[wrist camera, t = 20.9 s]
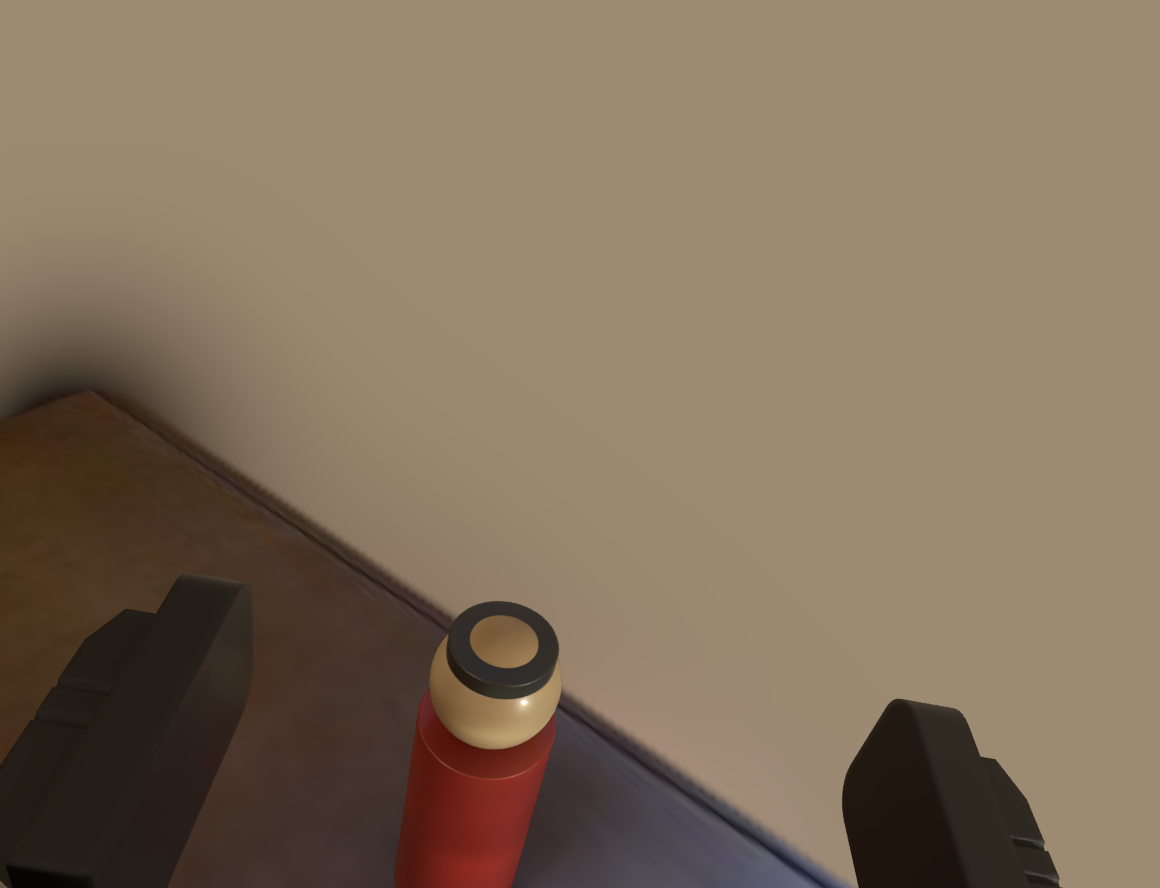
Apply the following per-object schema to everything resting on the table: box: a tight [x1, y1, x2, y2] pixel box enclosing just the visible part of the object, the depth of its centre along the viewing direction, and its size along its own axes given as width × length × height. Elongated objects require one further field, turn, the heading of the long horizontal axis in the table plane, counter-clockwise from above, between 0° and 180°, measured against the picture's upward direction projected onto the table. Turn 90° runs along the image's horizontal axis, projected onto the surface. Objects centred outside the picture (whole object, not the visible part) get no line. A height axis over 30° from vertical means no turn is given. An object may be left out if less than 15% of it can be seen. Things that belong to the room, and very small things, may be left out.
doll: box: [395, 601, 562, 888], centre depth 32 cm, size 5×5×14 cm
